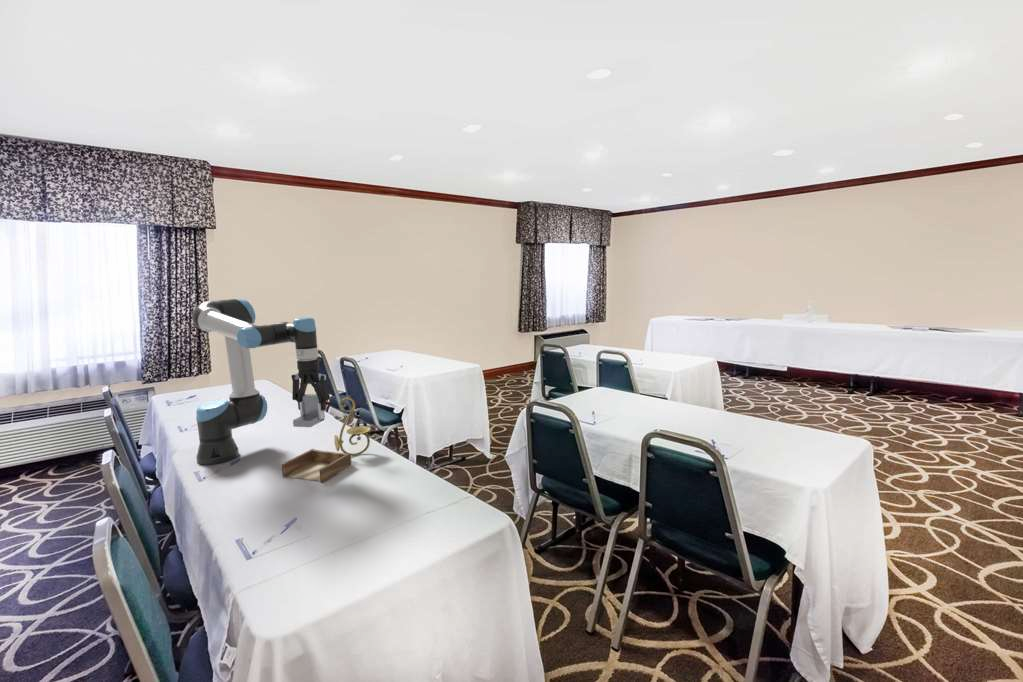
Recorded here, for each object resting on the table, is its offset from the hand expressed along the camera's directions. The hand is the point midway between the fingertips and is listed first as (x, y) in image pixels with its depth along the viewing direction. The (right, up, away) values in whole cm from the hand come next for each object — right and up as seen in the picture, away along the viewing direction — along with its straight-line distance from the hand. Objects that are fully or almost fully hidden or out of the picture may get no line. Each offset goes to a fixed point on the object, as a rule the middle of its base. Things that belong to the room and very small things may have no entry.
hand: (313, 418), depth 190 cm
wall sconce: (+11, -18, +16) cm, 27 cm away
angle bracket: (-1, -2, -2) cm, 3 cm away
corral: (+1, -21, +1) cm, 21 cm away
